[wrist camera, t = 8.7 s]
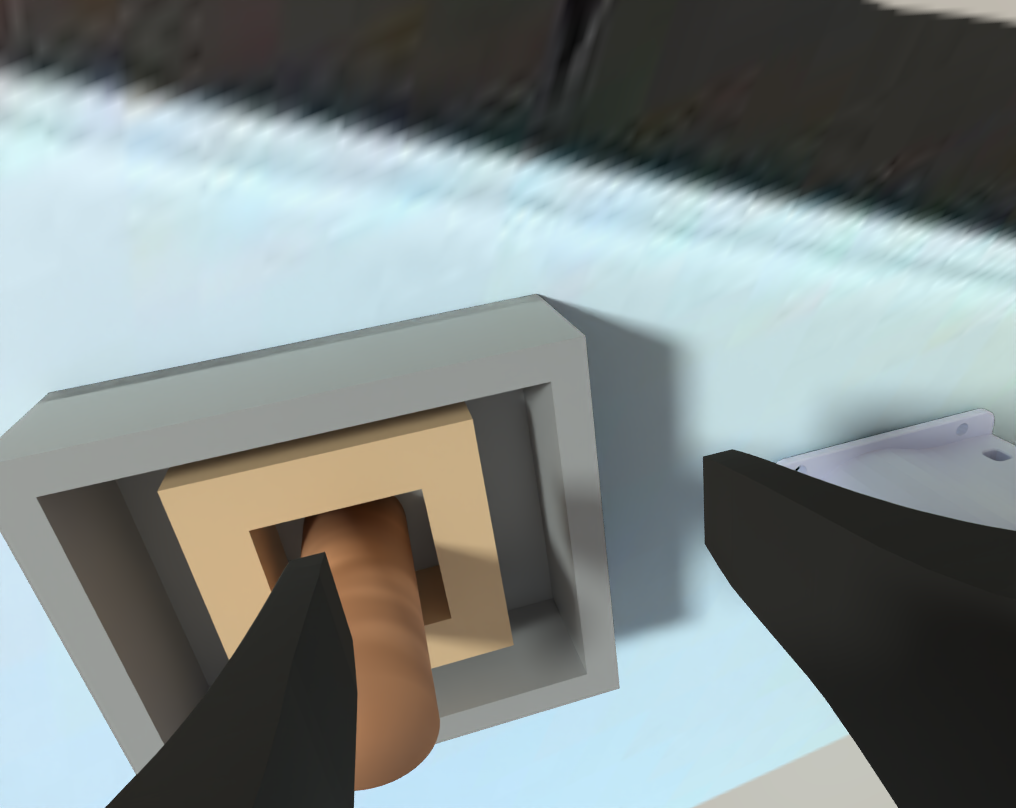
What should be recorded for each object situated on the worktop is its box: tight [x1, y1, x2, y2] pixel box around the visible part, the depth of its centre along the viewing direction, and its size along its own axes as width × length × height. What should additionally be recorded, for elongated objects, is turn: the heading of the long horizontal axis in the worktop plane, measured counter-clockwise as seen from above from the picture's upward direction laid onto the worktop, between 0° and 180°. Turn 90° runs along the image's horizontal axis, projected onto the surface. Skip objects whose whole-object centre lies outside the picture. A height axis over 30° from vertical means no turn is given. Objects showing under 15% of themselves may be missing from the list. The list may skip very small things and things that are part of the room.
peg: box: [300, 496, 440, 791], centre depth 17 cm, size 3×3×8 cm
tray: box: [0, 294, 620, 775], centre depth 20 cm, size 14×12×4 cm
